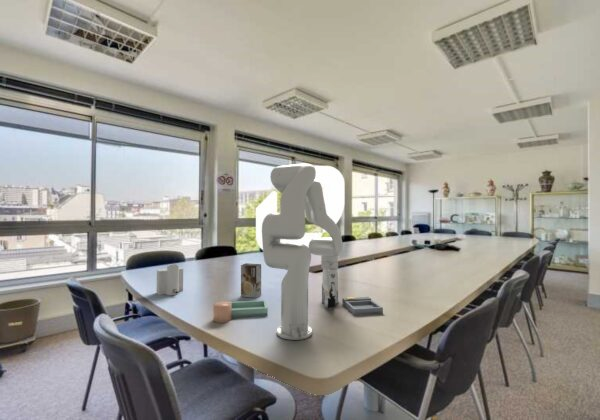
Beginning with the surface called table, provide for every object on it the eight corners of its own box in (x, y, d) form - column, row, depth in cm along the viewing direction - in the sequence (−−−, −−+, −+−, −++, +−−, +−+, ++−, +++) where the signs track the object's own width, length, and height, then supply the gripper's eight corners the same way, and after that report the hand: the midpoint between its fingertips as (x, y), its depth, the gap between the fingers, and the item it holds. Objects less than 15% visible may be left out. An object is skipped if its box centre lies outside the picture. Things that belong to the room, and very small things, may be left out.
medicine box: (338, 301, 141) (338, 283, 141) (338, 303, 137) (338, 285, 137) (321, 300, 142) (321, 282, 142) (321, 303, 137) (321, 284, 138)
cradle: (382, 313, 123) (382, 305, 123) (353, 315, 121) (353, 307, 121) (368, 303, 138) (368, 296, 138) (342, 304, 135) (342, 297, 135)
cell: (335, 309, 128) (335, 290, 128) (326, 310, 127) (326, 290, 127) (332, 306, 132) (332, 287, 132) (323, 307, 132) (323, 288, 132)
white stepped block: (180, 289, 161) (180, 262, 161) (188, 294, 150) (189, 265, 150) (156, 292, 153) (156, 264, 153) (163, 299, 142) (164, 268, 142)
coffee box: (261, 294, 151) (262, 263, 151) (256, 298, 145) (256, 266, 145) (246, 293, 153) (246, 263, 154) (240, 296, 147) (240, 264, 147)
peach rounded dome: (231, 322, 112) (231, 306, 113) (212, 323, 111) (212, 307, 111) (231, 315, 119) (231, 301, 119) (214, 316, 118) (214, 302, 118)
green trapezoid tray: (267, 315, 120) (267, 308, 120) (227, 317, 117) (227, 310, 117) (265, 307, 131) (265, 300, 131) (229, 308, 128) (229, 302, 128)
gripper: (344, 268, 122) (343, 311, 122) (331, 261, 139) (331, 299, 139) (326, 268, 121) (326, 312, 121) (316, 261, 138) (316, 300, 138)
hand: (329, 304), depth 130 cm, fingers open, 5 cm apart
